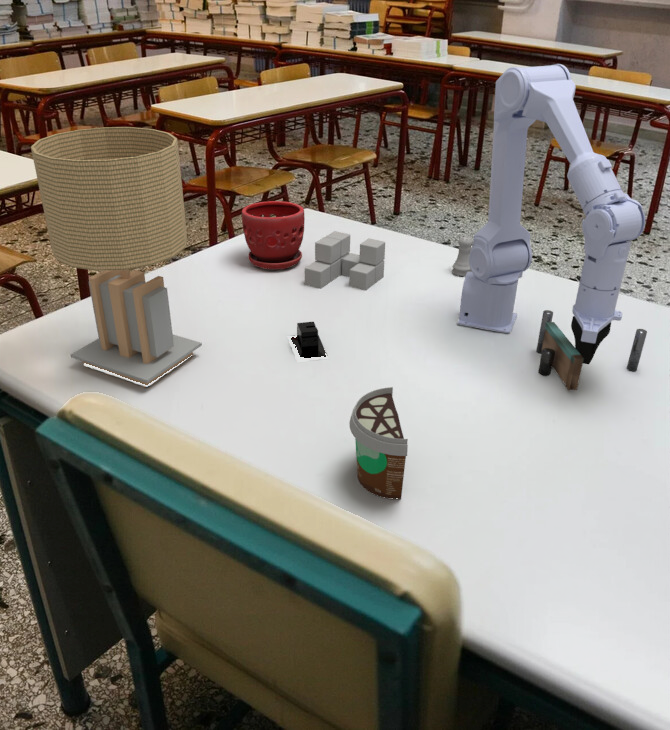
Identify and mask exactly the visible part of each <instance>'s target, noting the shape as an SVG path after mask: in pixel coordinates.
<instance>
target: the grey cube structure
mask: <svg viewBox="0 0 670 730" xmlns="http://www.w3.org/2000/svg"><path fill="white" fill-rule="evenodd" d="M385 255H386V241H384V240H379V239H374V238H367V239H365V240H364V241H363V242H361V243H359V254H356V253H354V252H353V253H351V234H350V233H345V232H342V231H341V232H340V231H336V230H333V232H331V233H329V234H327V235H326V236H324V237H321V239H318V240H317V241H315V242H314V260H315V261H313V262H311V263H309V264H308V265H307V266H305V267H304V286H308V287H312V288H316V289H323V288H325V287H326V286H327V285H329V284H330V283H331V282H333V281H334V280H336V279H338V278H339V277H340V276H343V277H347V278H349V282H348V283H349V287H350V288H353V289H354V288H355V289H358V290H363V291H368V290H369V289H370V288H372V287H373V286H374V285H375V284H377V283H379V281H381V280H382V279H383V278H384V276H385V274H384V273H385V257H386V256H385Z"/></svg>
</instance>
